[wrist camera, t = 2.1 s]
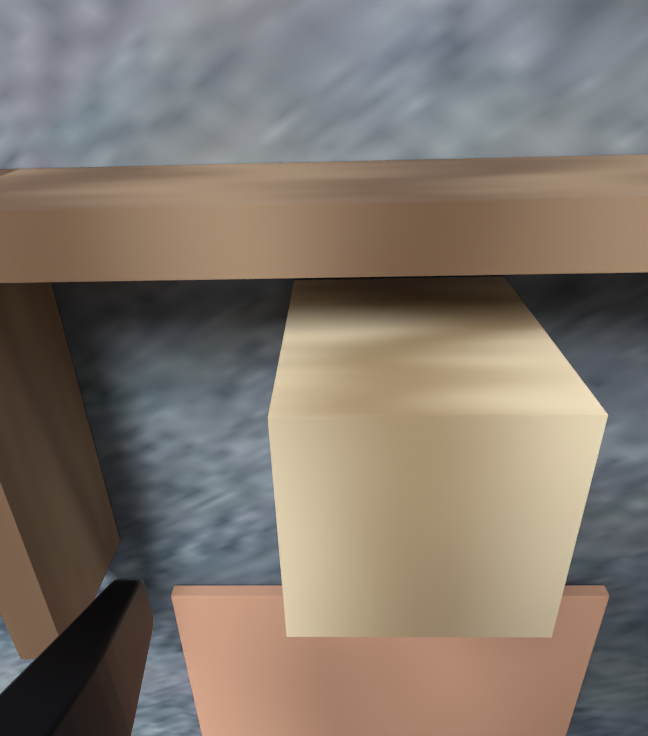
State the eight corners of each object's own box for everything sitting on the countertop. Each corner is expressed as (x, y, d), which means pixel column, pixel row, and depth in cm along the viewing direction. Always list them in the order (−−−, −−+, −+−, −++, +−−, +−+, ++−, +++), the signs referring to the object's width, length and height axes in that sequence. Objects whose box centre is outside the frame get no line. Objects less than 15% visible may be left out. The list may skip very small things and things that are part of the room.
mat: (604, 585, 18) (609, 595, 18) (537, 806, 25) (540, 817, 25) (173, 585, 19) (170, 595, 19) (221, 803, 26) (219, 813, 25)
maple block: (503, 276, 14) (607, 415, 8) (481, 446, 16) (551, 637, 11) (294, 279, 14) (267, 418, 9) (303, 447, 16) (286, 636, 11)
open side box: (860, 149, 12) (1077, 188, 9) (704, 539, 17) (797, 662, 14) (-33, 170, 13) (-176, 214, 9) (82, 541, 18) (20, 658, 14)
